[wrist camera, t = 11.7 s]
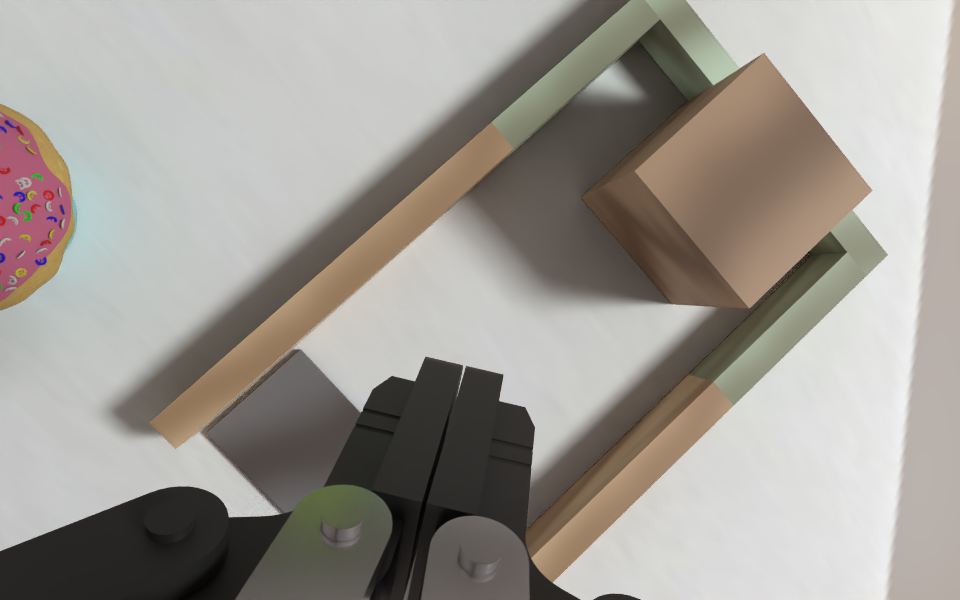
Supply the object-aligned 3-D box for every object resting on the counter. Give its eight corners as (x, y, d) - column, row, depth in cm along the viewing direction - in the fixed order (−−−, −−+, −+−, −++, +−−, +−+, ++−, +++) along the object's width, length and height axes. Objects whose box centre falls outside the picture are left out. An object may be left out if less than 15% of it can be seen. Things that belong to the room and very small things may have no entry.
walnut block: (580, 197, 30) (634, 171, 24) (681, 105, 31) (763, 53, 24) (670, 304, 31) (749, 308, 24) (768, 211, 32) (872, 190, 25)
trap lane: (170, 410, 28) (149, 422, 26) (641, -3, 31) (662, -29, 28) (425, 668, 30) (428, 703, 27) (850, 257, 32) (887, 255, 30)
